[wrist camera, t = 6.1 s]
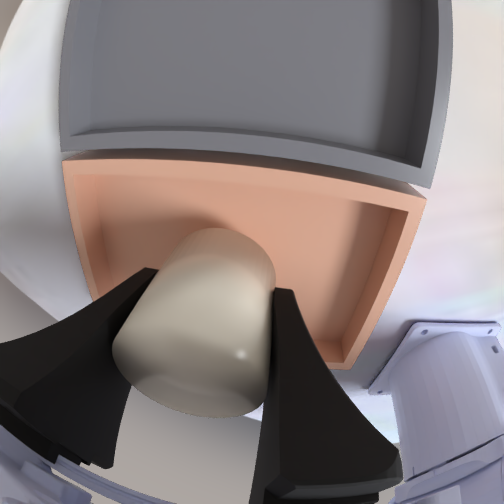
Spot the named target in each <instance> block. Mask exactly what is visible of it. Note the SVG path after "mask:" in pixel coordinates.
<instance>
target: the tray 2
mask: <svg viewBox="0 0 504 504" xmlns="http://www.w3.org/2000/svg"><path fill="white" fill-rule="evenodd" d="M62 167H63V176H64V183H65V190H66V196H67V202H68V208H69V213H70V218H71V223H72V228H73V233H74V237H75V241H76V245H77V249H78V253H79V257H80V261H81V265H82V268H83V272H84V275H85V278H86V282H87V285H88V288H89V291H90V294H91V297H92V300H93V302H94V301H95V300H97V299H99V298H100V297H102V296H103V295H105V294H106V293H108V292H109V291H110V290H112V289H113V288H115V287H116V286H118V285H119V284H121V283H122V282H123V281H125V280H126V279H128V278H129V277H131V276H132V275H134V274H135V273H137V272H138V271H140V270H141V269H143V268H144V267H147V268H153V269H160V268H161V266H162V265H163V264H164V262H165V261H166V259H167V258H168V256H169V255H170V254H171V252H172V251H173V249H174V248H175V247H176V245H177V244H178V243H179V242H180V241H181V240H182V239H183V238H184V237H186V236H187V235H189V234H191V233H193V232H195V231H198V230H201V229H206V228H224V229H229V230H233V231H236V232H239V233H241V234H244V235H246V236H247V237H249V238H251V239H252V240H254V241H255V242H256V243H258V244H259V245H260V246H261V247H262V248H263V249H264V250H265V252H266V253H267V254H268V256H269V257H270V259H271V261H272V263H273V266H274V269H275V273H276V287H278V288H286V289H292V290H293V292H294V294H295V297H296V301H297V304H298V306H299V309H300V312H301V314H302V317H303V319H304V322H305V324H306V326H307V328H308V331H309V333H310V335H311V337H312V339H313V341H314V343H315V345H316V347H317V349H318V351H319V353H320V355H321V356H322V358H323V360H324V362H325V363H326V365H327V367H328V368H329V369H339V370H350V369H351V368H352V366H353V364H354V363H355V361H356V359H357V358H358V356H359V354H360V353H361V351H362V349H363V347H364V346H365V344H366V342H367V340H368V338H369V337H370V335H371V333H372V331H373V329H374V327H375V325H376V323H377V321H378V320H379V318H380V316H381V314H382V312H383V310H384V308H385V305H386V303H387V301H388V299H389V297H390V295H391V293H392V291H393V288H394V286H395V284H396V282H397V279H398V277H399V275H400V273H401V270H402V268H403V265H404V263H405V261H406V258H407V256H408V253H409V250H410V248H411V245H412V243H413V240H414V237H415V234H416V232H417V229H418V226H419V223H420V220H421V217H422V214H423V211H424V208H425V205H426V201H427V199H426V198H425V197H424V196H422V195H421V194H420V193H419V192H418V191H416V190H415V189H414V188H413V187H412V186H410V185H409V184H408V183H407V182H403V181H399V180H395V179H391V178H387V177H383V176H379V175H375V174H370V173H366V172H361V171H356V170H352V169H347V168H342V167H336V166H331V165H326V164H320V163H314V162H308V161H301V160H295V159H288V158H281V157H273V156H265V155H256V154H246V153H236V152H224V151H211V150H194V149H167V148H119V149H94V150H87V151H85V152H82V153H80V154H77V155H75V156H73V157H70V158H68V159H66V160H63V161H62Z"/></svg>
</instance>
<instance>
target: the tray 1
mask: <svg viewBox="0 0 504 504" xmlns="http://www.w3.org/2000/svg"><path fill="white" fill-rule="evenodd" d="M452 53H453V21H452V3H451V0H71V1H70V5H69V10H68V15H67V20H66V25H65V32H64V38H63V46H62V55H61V66H60V83H59V128H60V146H61V152H65V151H78V150H94V149H119V148H167V149H194V150H211V151H224V152H236V153H246V154H256V155H265V156H273V157H281V158H288V159H295V160H301V161H308V162H314V163H320V164H326V165H331V166H336V167H342V168H347V169H352V170H356V171H361V172H366V173H370V174H375V175H379V176H383V177H387V178H391V179H395V180H399V181H403V182H407V183H411V184H414V185H418V186H421V187H425V188H428V189H430V188H431V184H432V180H433V177H434V173H435V169H436V165H437V161H438V156H439V152H440V147H441V143H442V138H443V132H444V127H445V121H446V115H447V108H448V101H449V93H450V83H451V71H452Z"/></svg>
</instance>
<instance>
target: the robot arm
mask: <svg viewBox="0 0 504 504" xmlns="http://www.w3.org/2000/svg"><path fill="white" fill-rule="evenodd" d="M158 271H159V269H153V268H147V267H144V268H143V269H141V270H140V271H138V272H137V273H135V274H134V275H132V276H131V277H129V278H128V279H126V280H125V281H123V282H122V283H121V284H119V285H118V286H116V287H115V288H113V289H112V290H110V291H109V292H108V293H106V294H105V295H103V296H102V297H100V298H99V299H97V300H95V301H94V302H92V303H91V304H89V305H88V306H86V307H85V308H83V309H81V310H80V311H78V312H76V313H74V314H73V315H71V316H69V317H67V318H65V319H63V320H61V321H60V322H58V323H56V324H53V325H51V326H49V327H47V328H44V329H42V330H40V331H37V332H35V333H32V334H30V335H27V336H24V337H21V338H18V339H15V340H12V341H8V342H4V343H0V504H93V503H91V502H90V501H91V498H92V496H91V494H89V493H88V492H86V491H84V490H83V489H81V488H80V487H78V486H76V485H74V484H72V483H70V482H68V481H66V480H64V479H62V478H60V477H59V476H57V475H55V474H53V473H52V471H51V467H52V468H53V469H55V470H57V471H58V472H60V473H61V474H63V475H65V476H67V477H68V478H70V479H72V480H74V481H76V482H77V483H79V484H81V485H83V486H85V487H87V488H89V489H91V490H93V491H95V492H97V493H99V494H101V495H103V496H105V497H107V498H110V499H112V500H114V501H117V502H119V503H121V504H175V503H171V502H168V501H164V500H161V499H158V498H155V497H151V496H148V495H145V494H143V493H139V492H137V491H134V490H131V489H129V488H126V487H124V486H121V485H119V484H116V483H114V482H112V481H109V480H107V479H105V478H103V477H100V476H98V475H96V474H94V473H92V472H90V471H88V470H86V469H84V468H82V467H80V466H79V465H80V463H81V462H82V463H84V464H86V465H90V464H91V463H93V464H95V465H97V466H99V467H101V468H103V469H109V468H111V467H113V463H114V455H115V448H116V442H117V437H118V432H119V427H120V423H121V419H122V415H123V412H124V408H125V405H126V401H127V398H128V394H129V392H130V389H131V386H132V385H131V384H130V383H129V382H128V381H127V380H126V378H125V377H124V376H123V375H122V374H121V372H120V371H119V369H118V368H117V366H116V364H115V361H114V358H113V355H112V344H113V341H114V339H115V337H116V336H117V334H118V333H119V331H120V329H121V328H122V326H123V324H124V323H125V321H126V320H127V318H128V316H129V315H130V313H131V312H132V310H133V309H134V307H135V305H136V304H137V302H138V301H139V299H140V298H141V296H142V295H143V293H144V292H145V290H146V289H147V287H148V286H149V284H150V283H151V281H152V280H153V278H154V277H155V275H156V274H157V272H158ZM500 330H501V325H500V324H499V323H489V324H465V323H425V322H418V323H415V324H414V325H412V327H411V328H410V330H409V331H408V333H407V334H406V336H405V338H404V339H403V341H402V342H401V344H400V345H399V347H398V348H397V350H396V352H395V353H394V354H393V356H392V357H391V359H390V360H389V362H388V363H387V365H386V366H385V367H384V369H383V370H382V372H381V373H380V374H379V376H378V377H377V378H376V380H375V381H374V382H373V384H372V385H371V386H370V388H369V389H368V393H369V394H370V395H388V394H391V395H392V400H393V405H394V411H395V416H396V422H397V428H398V434H399V441H400V448H401V455H402V462H401V458H400V455H399V450H398V449H397V448H396V447H395V446H394V445H393V444H392V443H391V442H390V441H388V440H387V439H386V438H385V437H384V436H383V435H382V434H381V433H380V432H379V431H378V430H377V429H376V428H375V427H374V426H373V425H372V424H371V423H370V422H369V421H368V420H367V419H366V417H365V416H364V415H363V414H362V413H361V412H360V410H359V409H358V408H357V407H356V406H355V404H354V403H353V402H352V401H351V399H350V398H349V397H348V396H347V394H346V393H345V392H344V390H343V389H342V388H341V386H340V385H339V383H338V382H337V381H336V379H335V378H334V376H333V374H332V373H331V371H330V370H329V368H328V367H327V365H326V363H325V362H324V360H323V358H322V356H321V355H320V353H319V351H318V349H317V347H316V345H315V343H314V341H313V339H312V337H311V335H310V333H309V331H308V328H307V326H306V324H305V322H304V319H303V317H302V314H301V312H300V309H299V306H298V304H297V301H296V297H295V294H294V292H293V290H292V289H286V288H278V287H275V288H274V298H273V321H272V344H271V356H270V367H269V379H268V389H267V396H266V398H265V400H264V405H263V416H262V424H261V432H260V439H259V445H258V452H257V459H256V465H255V471H254V477H253V483H252V489H251V494H250V499H249V504H374V503H376V502H378V501H379V492H380V491H382V490H385V489H388V488H390V487H393V486H395V485H397V484H399V483H400V482H401V481H402V480H403V473H404V482H407V483H405V484H403V485H400V486H397V487H395V497H393V498H392V499H391V500H390V502H389V503H388V504H504V350H503V348H502V346H501V345H500V343H499V341H498V339H497V337H496V336H497V335H498V333H499V332H500ZM402 463H403V470H402Z"/></svg>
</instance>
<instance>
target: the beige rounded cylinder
mask: <svg viewBox="0 0 504 504" xmlns="http://www.w3.org/2000/svg"><path fill="white" fill-rule="evenodd" d="M275 287H276V273H275V269H274V266H273V263H272V261H271V259H270V257H269V256H268V254H267V253H266V252H265V250H264V249H263V248H262V247H261V246H260V245H259V244H258V243H256V242H255V241H254V240H252V239H251V238H249V237H247V236H246V235H244V234H241V233H239V232H236V231H233V230H229V229H224V228H206V229H201V230H198V231H195V232H193V233H191V234H189V235H187V236H186V237H184V238H183V239H182V240H181V241H180V242H179V243H178V244H177V245H176V247H175V248H174V249H173V251H172V252H171V254H170V255H169V256H168V258H167V259H166V261H165V262H164V264H163V265H162V266H161V268H160V269H159V271H158V272H157V274H156V275H155V277H154V278H153V280H152V281H151V283H150V284H149V286H148V287H147V289H146V290H145V292H144V293H143V295H142V296H141V298H140V299H139V301H138V302H137V304H136V305H135V307H134V309H133V310H132V312H131V313H130V315H129V316H128V318H127V320H126V321H125V323H124V324H123V326H122V328H121V329H120V331H119V333H118V334H117V336H116V337H115V339H114V341H113V344H112V355H113V358H114V361H115V364H116V366H117V368H118V369H119V371H120V372H121V374H122V375H123V376H124V377H125V378H126V380H127V381H128V382H129V383H130V384H131V385H133V386H134V387H135V388H136V389H137V390H139V391H140V392H141V393H143V394H144V395H146V396H147V397H149V398H150V399H152V400H154V401H156V402H157V403H160V404H161V405H164V406H166V407H168V408H171V409H173V410H176V411H179V412H182V413H186V414H190V415H194V416H199V417H208V418H230V417H237V416H241V415H245V414H247V413H250V412H252V411H254V410H255V409H257V408H258V407H259V406H261V404H262V403H263V402H264V400H265V398H266V396H267V389H268V379H269V367H270V356H271V344H272V321H273V298H274V288H275Z"/></svg>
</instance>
